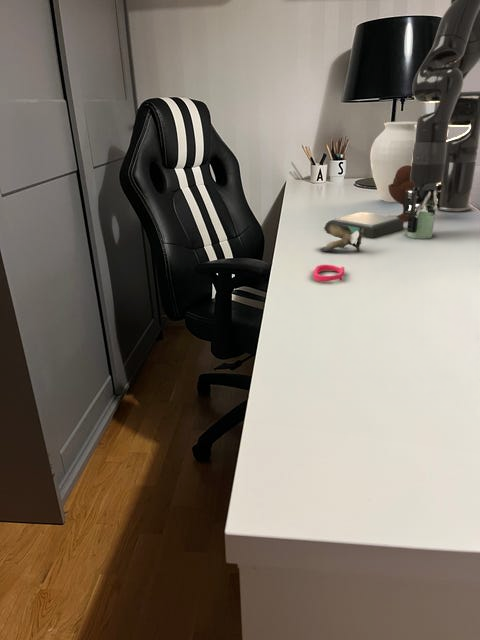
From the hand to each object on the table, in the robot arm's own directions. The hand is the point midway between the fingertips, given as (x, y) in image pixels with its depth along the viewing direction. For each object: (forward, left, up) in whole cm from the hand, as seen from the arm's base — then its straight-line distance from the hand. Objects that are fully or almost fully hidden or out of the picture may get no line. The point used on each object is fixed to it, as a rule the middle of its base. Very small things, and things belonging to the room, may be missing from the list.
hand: (420, 229), depth 125 cm
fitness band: (+41, +4, -2) cm, 41 cm away
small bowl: (0, 0, -2) cm, 2 cm away
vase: (-39, -32, -2) cm, 51 cm away
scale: (+3, -14, -2) cm, 14 cm away
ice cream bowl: (-15, -13, -2) cm, 20 cm away
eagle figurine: (+24, -6, -2) cm, 25 cm away
